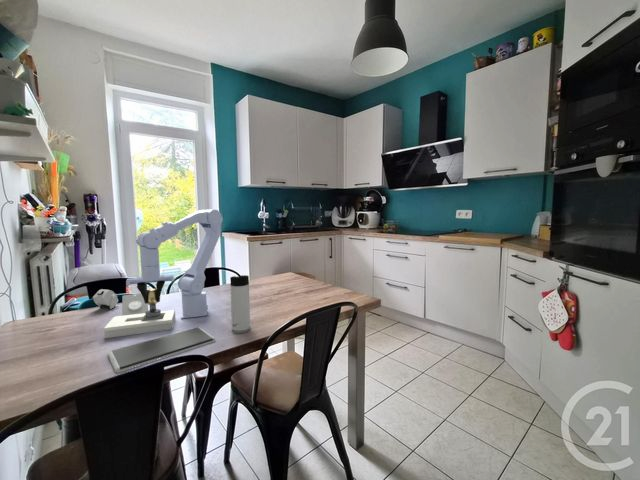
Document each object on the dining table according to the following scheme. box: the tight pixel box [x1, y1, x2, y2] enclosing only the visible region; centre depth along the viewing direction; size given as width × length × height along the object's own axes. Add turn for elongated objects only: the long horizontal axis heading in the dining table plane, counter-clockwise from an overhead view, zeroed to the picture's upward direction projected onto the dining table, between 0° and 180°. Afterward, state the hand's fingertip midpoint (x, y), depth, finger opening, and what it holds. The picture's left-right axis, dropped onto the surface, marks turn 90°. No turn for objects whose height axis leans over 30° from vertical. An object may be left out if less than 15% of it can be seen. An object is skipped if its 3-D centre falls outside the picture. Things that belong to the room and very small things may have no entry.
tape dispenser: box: [92, 288, 119, 310], centre depth 124 cm, size 6×7×10 cm
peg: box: [145, 288, 162, 318], centre depth 104 cm, size 5×5×10 cm
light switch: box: [121, 292, 149, 316], centre depth 115 cm, size 8×6×14 cm
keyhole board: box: [103, 309, 176, 339], centre depth 103 cm, size 20×11×4 cm, turn 111°
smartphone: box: [107, 326, 216, 374], centre depth 89 cm, size 13×27×2 cm, turn 134°
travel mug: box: [229, 275, 251, 334], centre depth 101 cm, size 6×7×20 cm
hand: (152, 302), depth 104 cm, fingers closed on peg, 3 cm apart
